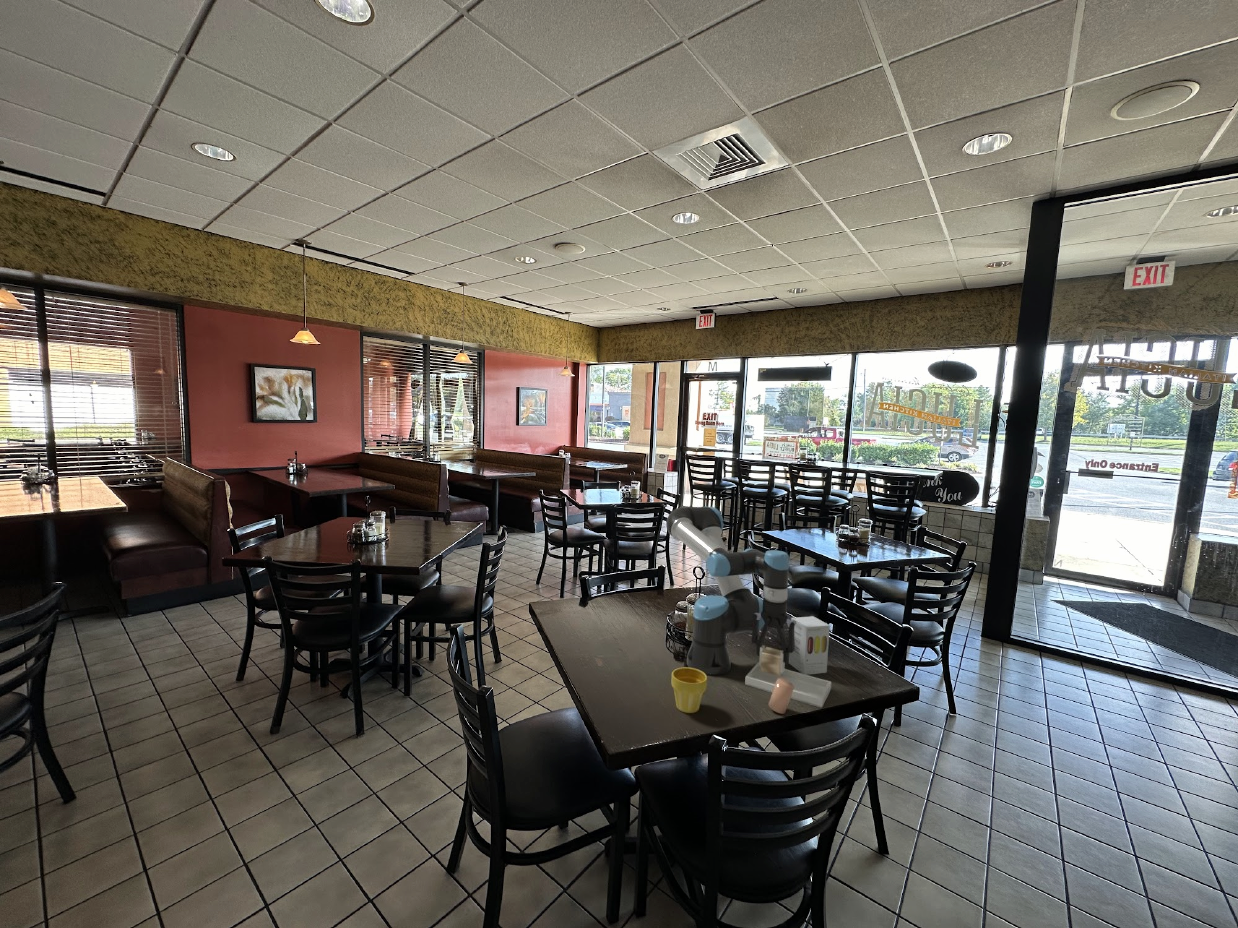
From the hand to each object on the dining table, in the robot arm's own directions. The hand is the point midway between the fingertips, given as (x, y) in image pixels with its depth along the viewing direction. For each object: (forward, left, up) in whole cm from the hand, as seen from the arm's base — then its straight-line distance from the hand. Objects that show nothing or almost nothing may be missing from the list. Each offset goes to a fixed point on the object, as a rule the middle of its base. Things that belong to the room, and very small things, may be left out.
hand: (771, 668), depth 165 cm
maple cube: (0, +1, -1) cm, 1 cm away
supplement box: (+7, +18, -5) cm, 20 cm away
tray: (+5, 0, -5) cm, 7 cm away
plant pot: (-16, -30, -5) cm, 34 cm away
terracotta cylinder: (+6, -16, -4) cm, 18 cm away
